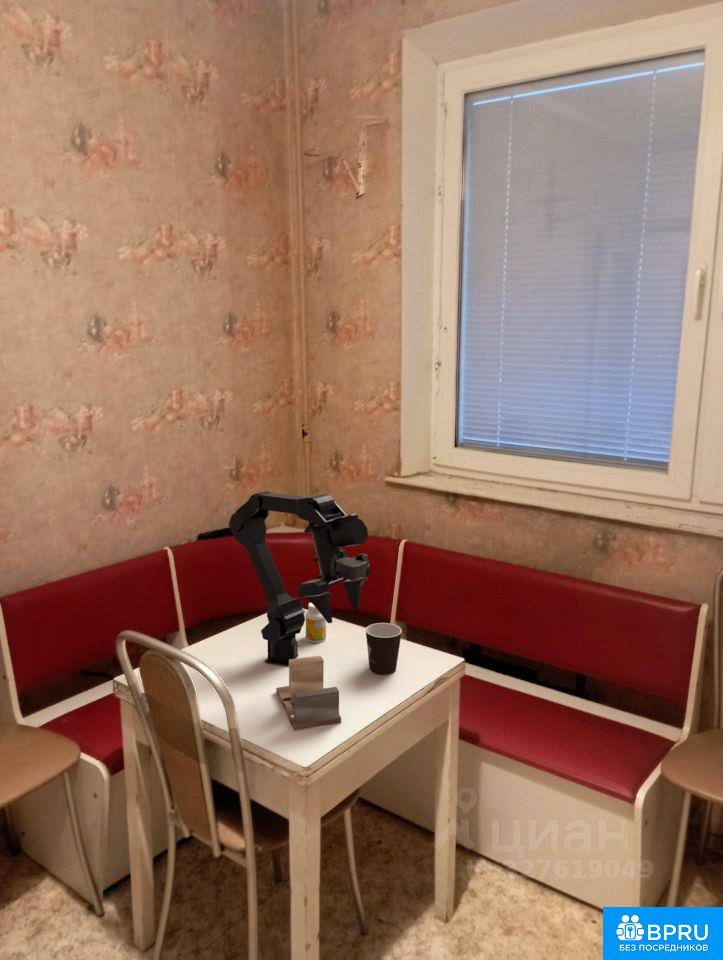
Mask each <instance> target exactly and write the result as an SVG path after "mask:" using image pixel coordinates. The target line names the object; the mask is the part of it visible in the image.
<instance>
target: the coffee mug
mask: <svg viewBox="0 0 723 960" xmlns="http://www.w3.org/2000/svg"><path fill="white" fill-rule="evenodd" d="M402 632H403V630H402V628H401V627H400V626H398V625H397V624H393V623H388V622H378V623H377V622H376V623H372V624H369V625H368V626H366V628H365V635H366V636H365V637H366V645H367V647H366V648H367V656H368V657H367V658H368V667H369V671H370V672H371V673H373V674H375V675H378V676H389V675H392V674H394V673H395V672H396V671H397V667H398V665H397V664H398V658H399V653H400V646H401V638H402Z"/></svg>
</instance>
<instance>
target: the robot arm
mask: <svg viewBox="0 0 723 960" xmlns="http://www.w3.org/2000/svg"><path fill="white" fill-rule="evenodd" d="M270 512H278V513H285V514H290V515H294V516H297V517H298V518H299V520H302V521H305V522H308V524H307V525H306V527H305V528H304V530H303V534H311V536H312V539H313V540H312V541H313V544H314V548H315V549H314V550H315V553H316V556H314V557H313V562H314V563H315V562H317V563H318V567H319V572H320V574H318V575H317V579H310V580H307V581H305V582H302V583H299V586H298V587H297V588H298V593H299V594H298V595H299V597H300V598H303V597H304V600H308V601H309V603H312V604H313V605H314V606H315V607H316V608H317V610H318V611H319V612H320V613H321V615H322V616H323V617H324V619H325V620H326V623H328V624H332V623H333V615H332V610H331V605H330V598H331V595H332V592H331V591H329V590H330V587H331V586H334V585H336V584H339V583H341V582H342V586H343V587H344V590H345V593H346V596H347V598H348V600H349V602H350V605H351V607H352V609H353V611H354V612H358V611H360V603H361V594H362V593H361V592H362V587H363V585H364V583H365V582H366V581H367V580H368V578H369V576H370V575H372V574H371V569H370V567H371V566H370V561H369V557H368V554H366V553H360V554H357V555H356V557H355V556H354V557H349V555H348V552H347V551H346V550H345V549H344V550H342V548H347V547H352V546H360V545H363V544H365V543H366V541H367V539H368V535H369V533H368V532H369V530H368V527H367V526H366V524H365V522H364V521H363V520H362V519H360V518H359V516H358V513H352V514H349V515H348V514H347V513H346V512H345V510H343V509H342V508H341V507H340V506H339V504H338V503H337V502H336V501H335V500H334V498H333V496H332V494H330V493H327V492H326V493H318V494H311V495H303V496H302V495H295V494H294V495H292V494H284V493H276V492H275V493H274V492H270V491H267V490H265V491H260V492H257V493H253V494H252V495H250V497H249V498H248V500H247V501H246V502H244V504H243V505H241V506H240V507H239V508H237V509H236V510H235V512H234V513H233V514H232V515H231V516H230V519H229V522H228V527H229V529H230V532H231V534H232V535H233V537H234V538H235V541H236V542H238V543H239V544H240V545H242V546H243V547H244V548H245V549H246V551H247V554H248V555H249V559H250V560H251V563H252V565H253V569H254V571H255V573H256V576H257V578H258V581H259V582H260V586H261V588H262V589H263V590H262V591H263V593H264V595H265V598H266V600H267V609H266V610H267V611H266V617H267V621H268V623H267V624H266V625H264V627H262V629H261V630H260V633H261V636H262V639H263V640H266V641H267V657H266V659H265V660H264V663H265V664H266V663H267V664H270V665H271V664H273V665H279V666H280V665H281V666H285V667H286V666H287V667H289V660H290V659H297V658H299V657H298V656H299V653H298V652H299V651H298V649H299V648H298V647H299V645H298V644H299V643H298V641H297V639H296V635H297V634H300V633H301V631H302V628H303V626H304V624H305V622H306V615H305V614H306V611H305V610H304V609H303V607H302V604H301V601H300V599H299V598H298V597H295V598H293V597H292V596H291V595H289V594H288V593H287V590H286V588H285V586H284V582H283V580H282V578H281V576H280V573H279V571H278V569H277V566H276V563H275V562H274V561H275V560H274V558H273V556H272V554H271V551H270V549H269V547H268V545H267V542H266V536H267V525H266V520H267V519H268V517H269V516H270Z"/></svg>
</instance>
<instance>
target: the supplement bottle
mask: <svg viewBox="0 0 723 960" xmlns="http://www.w3.org/2000/svg"><path fill="white" fill-rule="evenodd" d="M307 607H308V610H307V612H305V641H307V642H309V643H312V644H319V643H322V642H324V641H326V640H327V621H326V620H325V619H324V617H323V616H322V615H321V613H320V612H319V611H318V610H317V608H316V607H315V606H314V605H313V604H312V603H311V602H309V603H308V605H307Z"/></svg>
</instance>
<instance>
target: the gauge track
mask: <svg viewBox="0 0 723 960" xmlns="http://www.w3.org/2000/svg"><path fill="white" fill-rule="evenodd" d="M275 689H276V695H277V697H278V699H279V701H280V703H281V706H282V708H283V709H284V712H285V714H286V716H287V718H288V721H289V722H290V725H291V728H292V729H293V731H300V730H301V731H302V730H305V729H311V728H313V729H314V728H317V727H324V726H328V725H329V726H330V725H334V724H335V725H336V724H340V723H342V716H341V715H340V690H339V689H338V687H337V686H332V687H331V686H330V687H325V688H324V687H323V689H317V690H311V691H304V692H298V693H294V704H292V703H291V701H284V702H283V698H288V697H289V685H285V686H278V687H276V688H275Z"/></svg>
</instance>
